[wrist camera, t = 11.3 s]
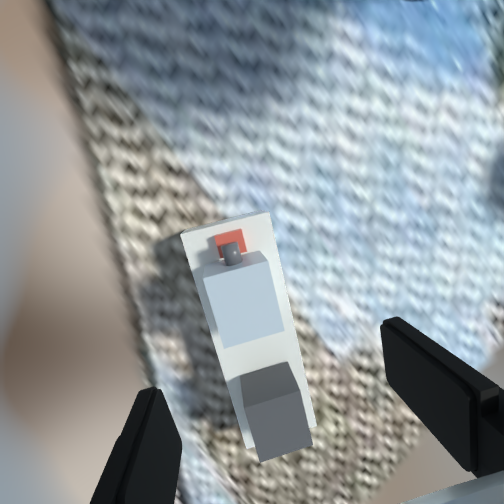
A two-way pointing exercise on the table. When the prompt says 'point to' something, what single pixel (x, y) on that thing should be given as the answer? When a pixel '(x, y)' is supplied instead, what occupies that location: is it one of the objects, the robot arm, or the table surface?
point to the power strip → (283, 343)
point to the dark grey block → (275, 411)
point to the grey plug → (242, 296)
